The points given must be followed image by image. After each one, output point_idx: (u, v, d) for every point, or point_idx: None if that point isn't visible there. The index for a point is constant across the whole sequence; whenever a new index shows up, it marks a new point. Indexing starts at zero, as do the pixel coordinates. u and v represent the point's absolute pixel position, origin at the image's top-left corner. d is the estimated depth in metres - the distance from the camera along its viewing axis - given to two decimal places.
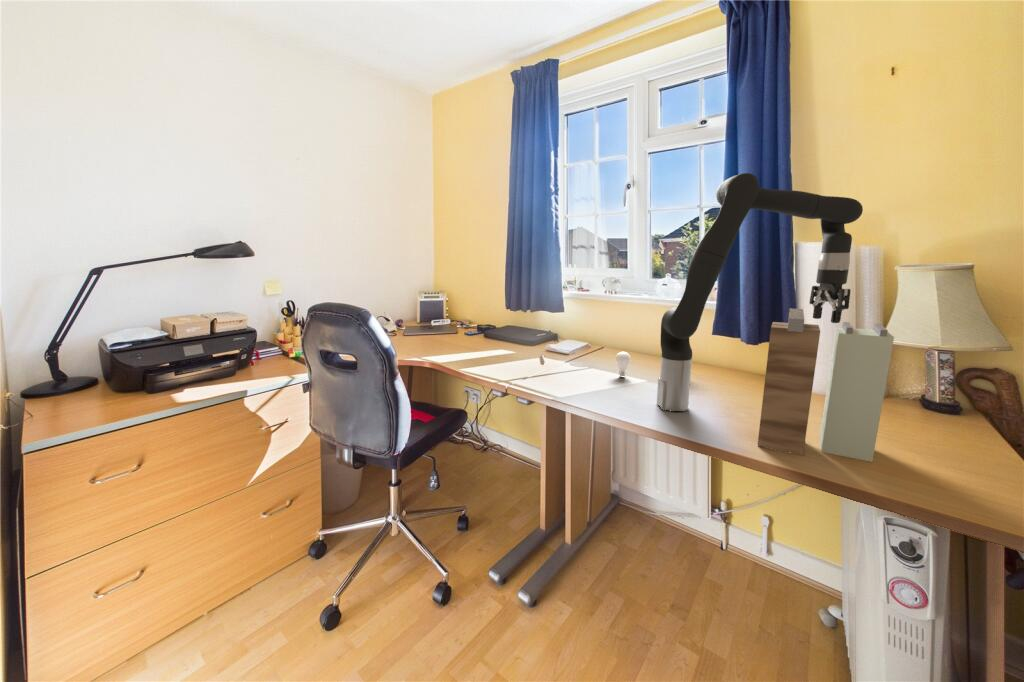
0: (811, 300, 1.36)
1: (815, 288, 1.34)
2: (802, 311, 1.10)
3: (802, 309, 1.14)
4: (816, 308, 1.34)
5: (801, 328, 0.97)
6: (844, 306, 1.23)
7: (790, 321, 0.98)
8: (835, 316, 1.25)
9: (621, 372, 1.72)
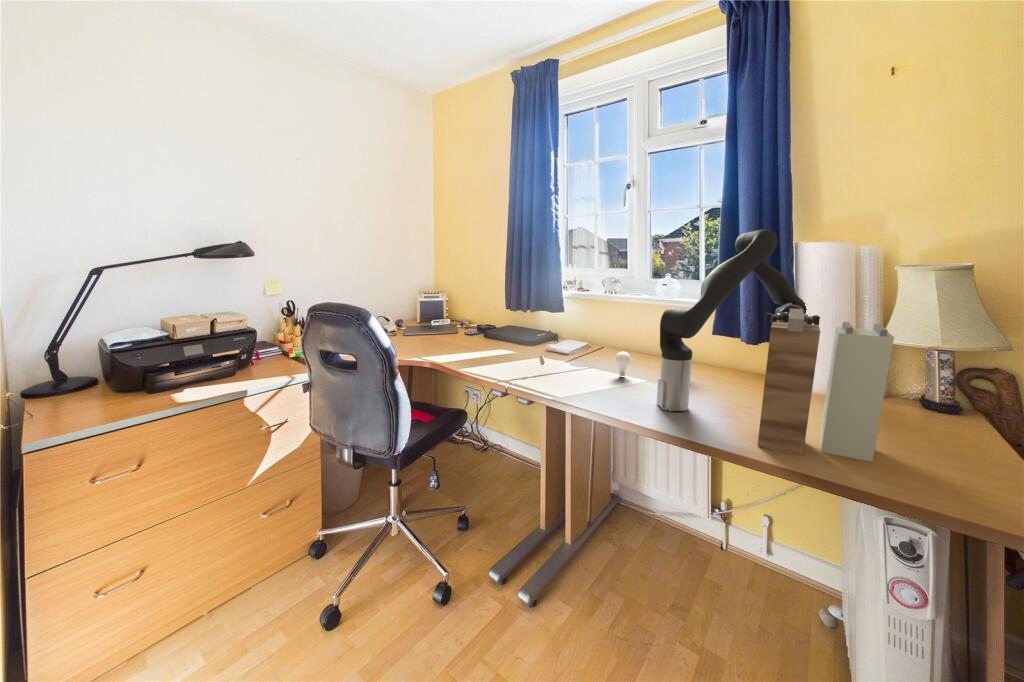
0: (768, 314, 1.35)
1: None
2: (802, 311, 1.10)
3: (802, 309, 1.14)
4: (776, 316, 1.31)
5: (801, 328, 0.97)
6: None
7: (790, 321, 0.98)
8: (811, 319, 1.25)
9: (621, 372, 1.72)
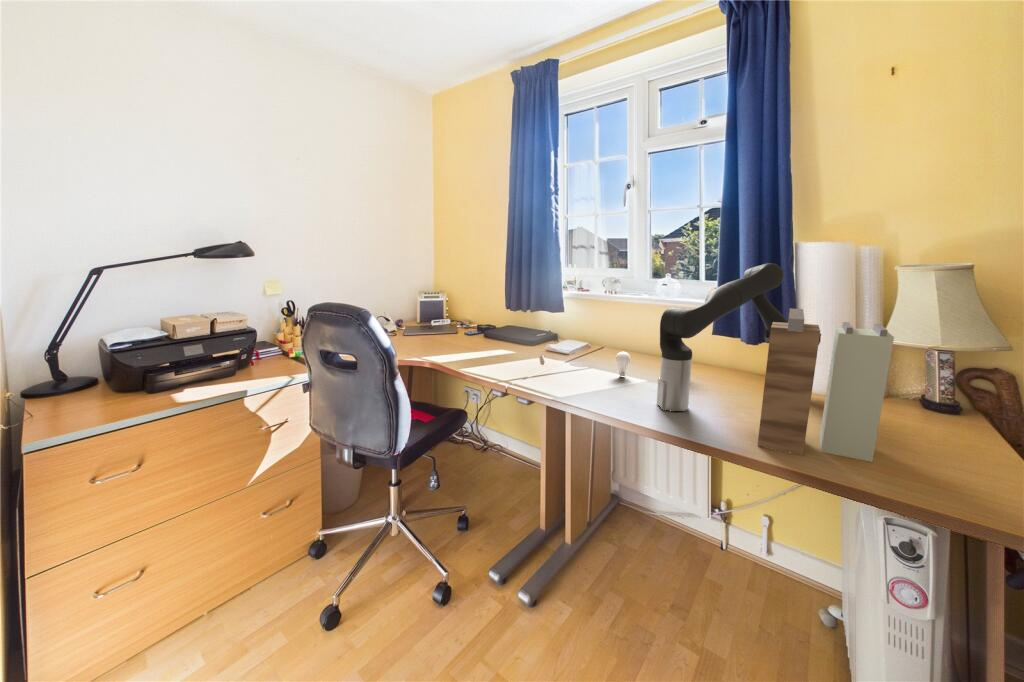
0: None
1: None
2: (802, 311, 1.10)
3: (802, 309, 1.14)
4: None
5: (801, 328, 0.97)
6: None
7: (790, 321, 0.98)
8: None
9: (621, 372, 1.72)
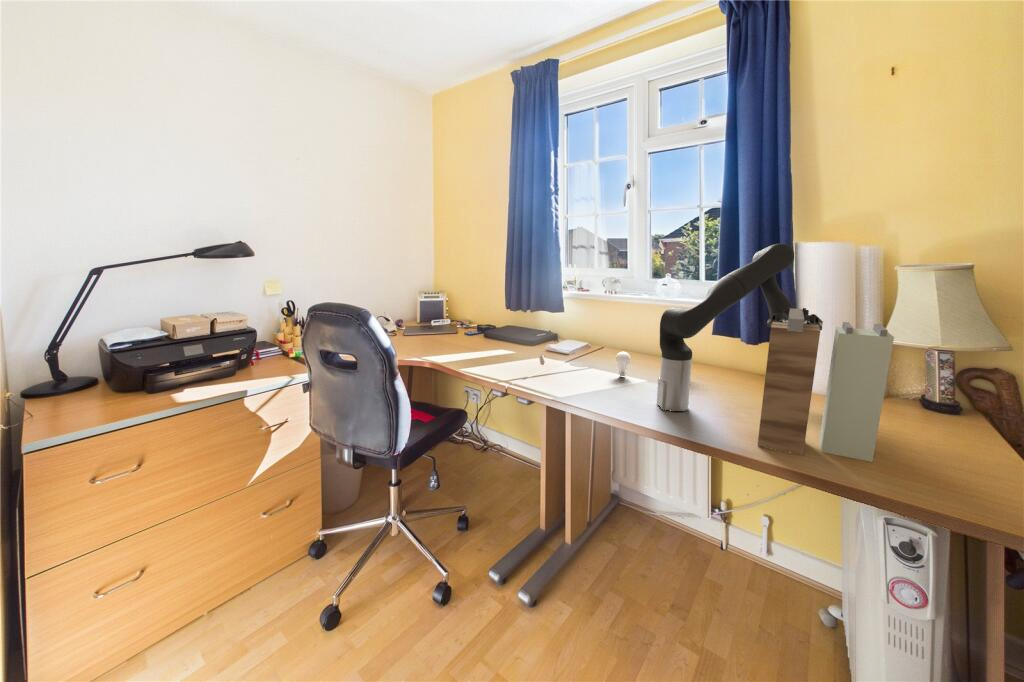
0: None
1: None
2: (802, 311, 1.10)
3: (802, 309, 1.14)
4: None
5: (801, 328, 0.97)
6: None
7: (790, 321, 0.98)
8: None
9: (621, 372, 1.72)
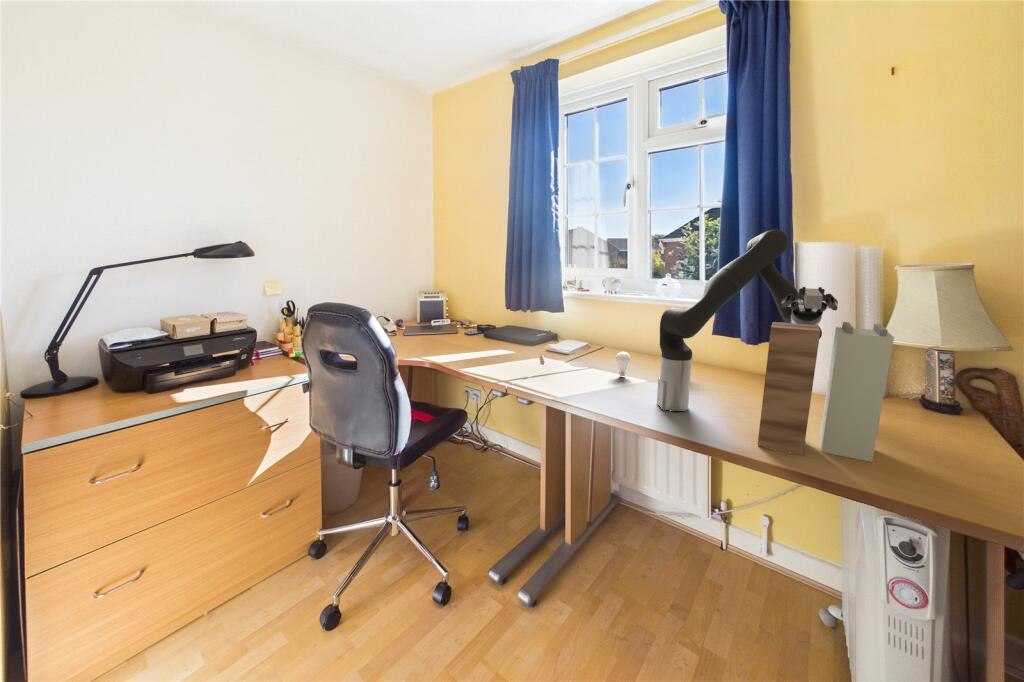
0: None
1: None
2: (818, 290, 1.10)
3: None
4: None
5: (819, 305, 0.97)
6: None
7: (808, 298, 0.98)
8: None
9: (621, 372, 1.72)
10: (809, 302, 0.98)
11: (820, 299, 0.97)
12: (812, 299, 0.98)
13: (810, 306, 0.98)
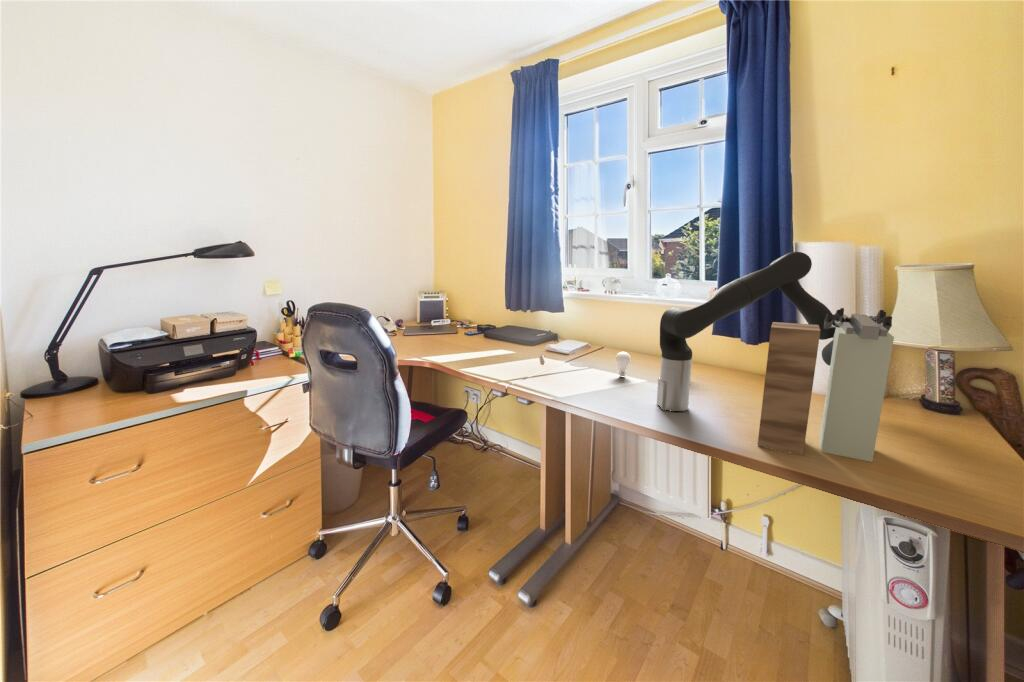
0: None
1: None
2: (868, 317, 1.05)
3: (866, 315, 1.09)
4: None
5: (876, 336, 0.93)
6: None
7: (864, 328, 0.94)
8: None
9: (621, 372, 1.72)
10: (865, 333, 0.94)
11: (877, 330, 0.92)
12: (868, 330, 0.93)
13: (866, 337, 0.94)
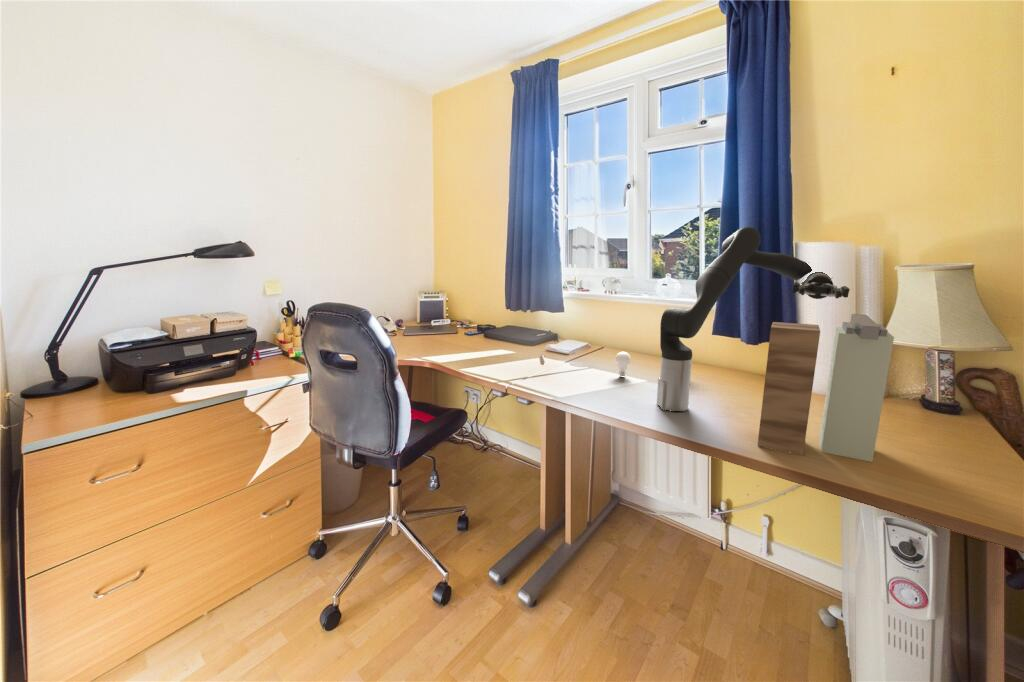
0: (796, 284, 1.32)
1: (798, 284, 1.35)
2: (868, 317, 1.05)
3: (866, 315, 1.09)
4: (804, 287, 1.29)
5: (876, 336, 0.93)
6: None
7: (864, 328, 0.94)
8: (841, 291, 1.23)
9: (621, 372, 1.72)
10: (865, 333, 0.94)
11: (877, 330, 0.92)
12: (868, 330, 0.93)
13: (866, 337, 0.94)
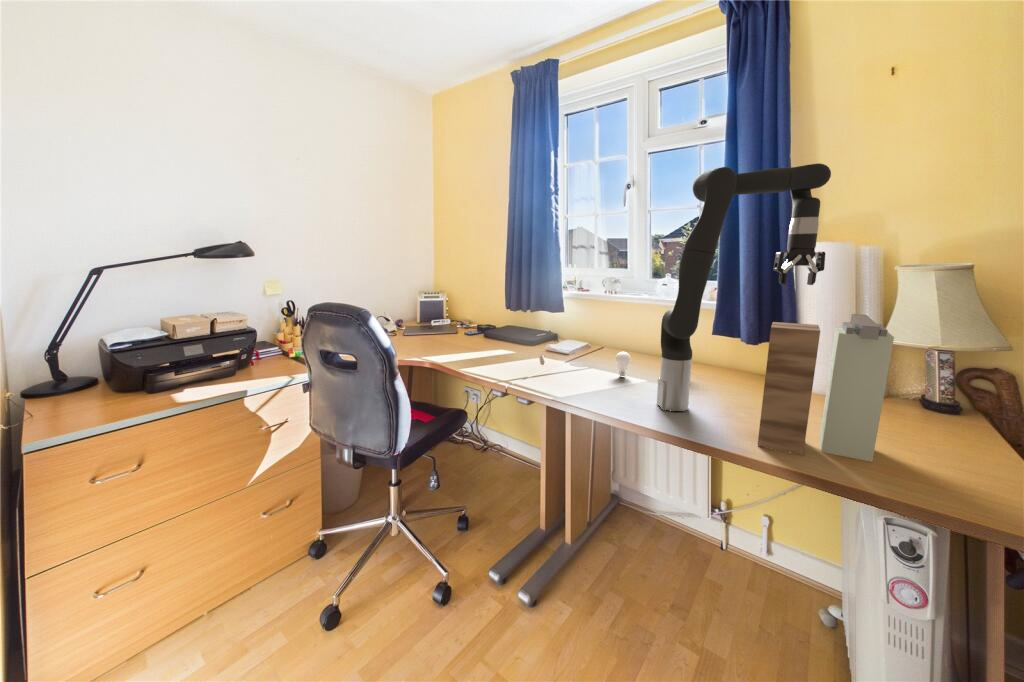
0: (780, 267, 1.32)
1: None
2: (868, 317, 1.05)
3: (866, 315, 1.09)
4: None
5: (876, 336, 0.93)
6: None
7: (864, 328, 0.94)
8: (814, 278, 1.33)
9: (621, 372, 1.72)
10: (865, 333, 0.94)
11: (877, 330, 0.92)
12: (868, 330, 0.93)
13: (866, 337, 0.94)
